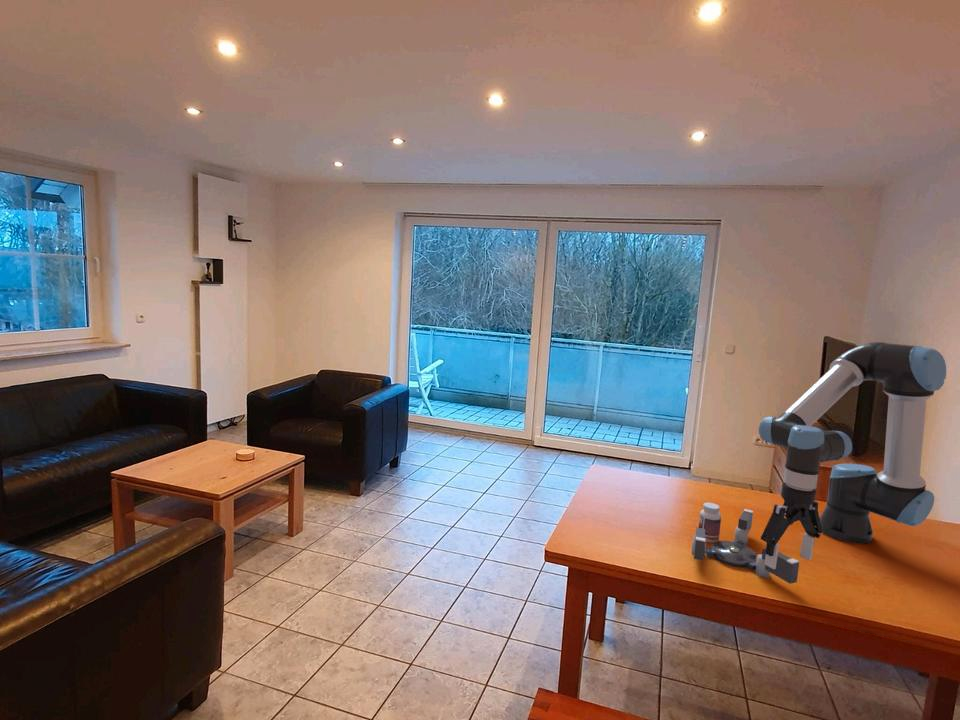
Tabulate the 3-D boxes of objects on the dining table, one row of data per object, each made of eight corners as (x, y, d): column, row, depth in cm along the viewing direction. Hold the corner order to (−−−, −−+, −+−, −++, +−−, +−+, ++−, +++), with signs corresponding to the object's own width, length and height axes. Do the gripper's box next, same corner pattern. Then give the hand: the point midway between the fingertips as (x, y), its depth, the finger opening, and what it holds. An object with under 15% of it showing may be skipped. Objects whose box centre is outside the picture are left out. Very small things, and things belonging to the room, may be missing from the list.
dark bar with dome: (691, 549, 162) (694, 523, 160) (704, 552, 160) (707, 526, 159) (690, 566, 152) (693, 538, 150) (704, 569, 150) (707, 541, 149)
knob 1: (745, 548, 164) (748, 522, 162) (732, 544, 166) (735, 519, 164) (752, 535, 172) (755, 511, 171) (740, 532, 174) (743, 508, 173)
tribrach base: (744, 546, 165) (745, 538, 164) (764, 572, 150) (765, 563, 150) (698, 542, 166) (699, 534, 166) (713, 567, 152) (714, 558, 151)
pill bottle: (722, 540, 168) (726, 507, 166) (711, 545, 165) (714, 511, 163) (705, 532, 173) (708, 500, 172) (693, 536, 170) (696, 503, 168)
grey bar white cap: (752, 572, 150) (755, 544, 149) (761, 569, 151) (765, 542, 150) (787, 593, 140) (791, 563, 139) (796, 590, 142) (801, 561, 140)
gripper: (817, 476, 147) (806, 548, 150) (752, 485, 137) (742, 562, 140) (845, 486, 140) (833, 562, 143) (778, 496, 130) (767, 577, 133)
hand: (788, 562), depth 141 cm, fingers open, 13 cm apart
